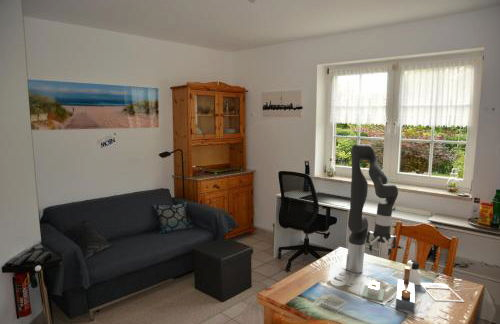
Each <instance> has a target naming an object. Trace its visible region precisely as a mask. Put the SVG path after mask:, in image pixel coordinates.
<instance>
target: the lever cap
mask: <svg viewBox="0 0 500 324" xmlns="http://www.w3.org/2000/svg"><path fill="white" fill-rule="evenodd" d="M368 286H369V287H368V295H371V296H375V297H378V295H379V288H380V289H381V282H378V281H375V280H369V284H368Z"/></svg>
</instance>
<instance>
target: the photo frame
mask: <svg viewBox="0 0 500 324" xmlns="http://www.w3.org/2000/svg"><path fill="white" fill-rule="evenodd" d="M419 286H421V288H422V289H423V290H424V291H425V292H426V293H427V294H428V295H429V296H430V297H431V299H433V301H435V302H451V303H465V301H464V300H463V298H461V296H459V294H457V293H456V292H455V291H454V290H453V289H452V288H451V287H450V286H449V285H447V284H446V283H440V282H437V283H435V282H421V284H420V285H419ZM427 289H430V290H431V289H432V290H433V289H434V290H435V289H436V290H450V292H452V293H453V294H454V296H456V297H457V299H459V300H457V299H436V298H435V297H434V296H433V295H432V294H431V293H430V291H429V290H427Z"/></svg>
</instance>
